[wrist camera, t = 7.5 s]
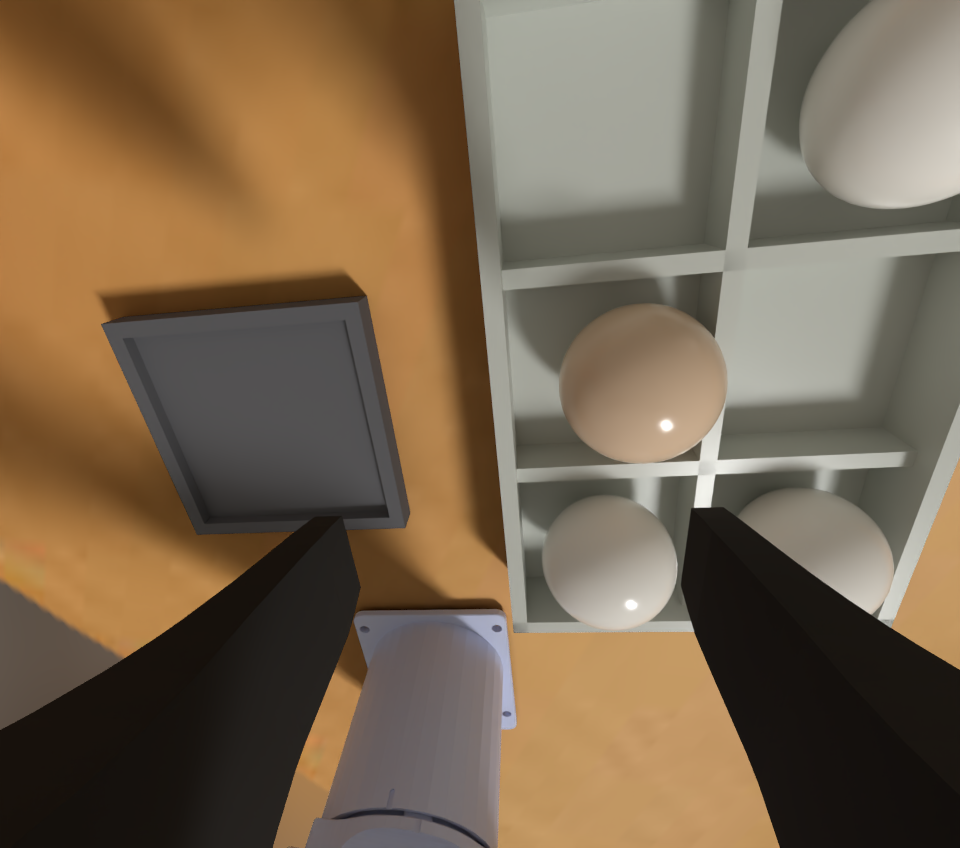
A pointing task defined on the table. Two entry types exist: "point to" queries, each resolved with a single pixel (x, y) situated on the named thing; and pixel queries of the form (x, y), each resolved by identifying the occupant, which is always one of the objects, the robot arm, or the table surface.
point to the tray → (699, 271)
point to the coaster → (268, 413)
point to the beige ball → (643, 383)
